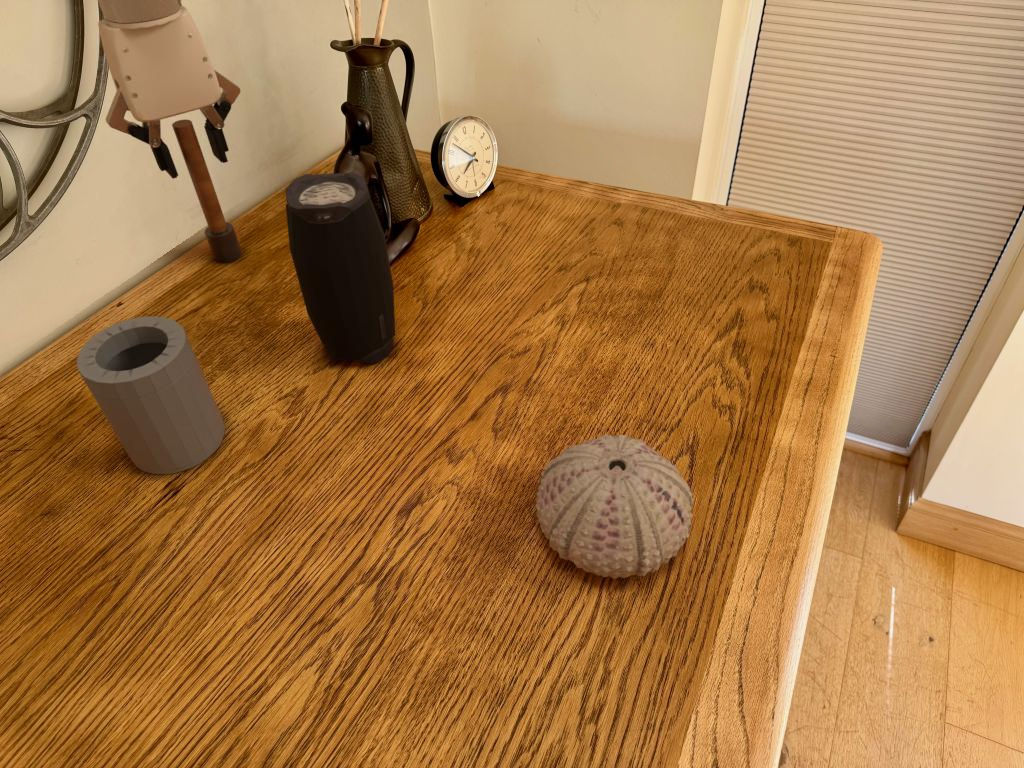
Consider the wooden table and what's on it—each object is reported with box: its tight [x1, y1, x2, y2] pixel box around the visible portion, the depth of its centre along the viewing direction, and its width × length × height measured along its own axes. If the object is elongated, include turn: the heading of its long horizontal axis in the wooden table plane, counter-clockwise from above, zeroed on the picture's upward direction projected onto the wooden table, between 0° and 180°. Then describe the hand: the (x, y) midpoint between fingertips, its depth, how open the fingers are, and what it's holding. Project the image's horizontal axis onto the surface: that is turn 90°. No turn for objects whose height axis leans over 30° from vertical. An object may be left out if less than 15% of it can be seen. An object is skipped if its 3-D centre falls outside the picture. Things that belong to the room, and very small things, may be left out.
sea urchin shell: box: [534, 433, 696, 580], centre depth 61 cm, size 13×14×8 cm
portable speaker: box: [285, 171, 396, 366], centre depth 75 cm, size 9×9×20 cm
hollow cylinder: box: [76, 315, 226, 475], centre depth 68 cm, size 9×9×12 cm
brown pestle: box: [171, 119, 243, 264], centre depth 90 cm, size 4×4×18 cm
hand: (196, 164), depth 87 cm, fingers open, 5 cm apart
